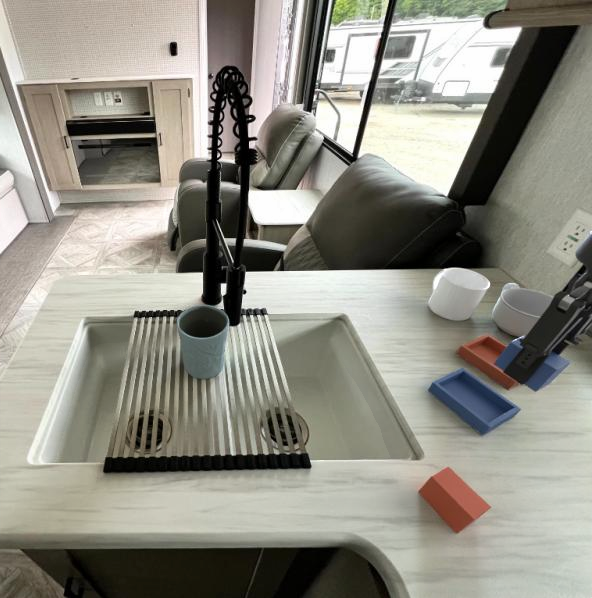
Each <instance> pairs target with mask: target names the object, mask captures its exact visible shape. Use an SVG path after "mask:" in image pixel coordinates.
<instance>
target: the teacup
mask: <svg viewBox="0 0 592 598" xmlns="http://www.w3.org/2000/svg"><path fill="white" fill-rule="evenodd" d="M553 298H554V296H553V295H550V294H548V293H546V292H543V291H539V290H537V289H531V288H525V287H520V286H519V284H517V283H515V282H508V283H506V284H505V285H504V286H503V287H502V290H501V293H500V296H499V298H498V300H497V302H496V303H495V305H494V307H493V309H492V313H491V317H492V320H493V322H494V323H495V324H496V326H498V328H499V329H500V330H501V331H503V332H504V333H506V334H508V335H511V336H513V337H515V338H516V337H517V338H520V337H522V336H526V335H527V334H528V333H529V331H530V330H531V329H532V328H533V326H534V325H535V324H536V322H537V321H538V320H539V318H540V317H541V316H542V314H543V313H544V312H545V311H546V309H547V308H548V307H549V305H550V303H551V301H552V299H553Z"/></svg>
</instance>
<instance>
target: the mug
mask: <svg viewBox="0 0 592 598" xmlns="http://www.w3.org/2000/svg"><path fill="white" fill-rule="evenodd" d="M490 286H491V282H490V280H489V279H488V278H487V277H486V276H484V275H483V274H481V273H479V272H476V271H474V270H472V269H471V270H470V269H468V268H462V267H448V268H443V269H441V270H439V272H438V273H436V275H435V276H434V278H433V281H432V294H431V296H430V297H429V300H428V302H427V305H428V308H429V309H430V310H431V311H432V312H433V313H434V314H435V315H437V316H439V317H441V318H443V319H446V320H450V321H456V322H462V321H463V322H464V321H467V320H469V319H470V318H472V315H473V313H474V312H475V310H476V309H477V307H478V306H479V304H480V302H481V301H482V300H483V297H484V296H485V294H486V293H487V291H488V290H489V288H490Z"/></svg>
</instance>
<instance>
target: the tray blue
mask: <svg viewBox="0 0 592 598" xmlns="http://www.w3.org/2000/svg"><path fill="white" fill-rule="evenodd" d="M427 391H428V393H430V394H431V395H432V396H434V398H436V399H438V401H440V402H441V403H442V404H443V405H444V406H446V407H447V408H448V409H449V410H451V411H452V412H453V413H454V414H456V415H457V416H458V417H459V418H460V419H462V420H463V421H464V422H465V423H467V424H468V425H469V426H470V427H472V428H473V429H474V430H475V431H476V432H478V433H479V434H480V435H481V436H485V435H487V434H488V433H490V432H491V431H493V430H495V429H497V428H499V427H500V426H502V425H504V424H505V423H507V422H508V421H511V420H512V419H515V417H516V416H517V415H518V414H519V412H521V410H522V408H521V407H519V406H518V405H517V404H515V403H514V402H512V401H511V400H510V399H508V398H507V397H505V396H504V395H502V394H501V393H499V392H498V391H497V390H495V389H494V388H493V387H491V386H490V385H488V384H487V383H485V382H484V381H483V380H481V379H480V378H478V377H477V376H475V375H474V374H472V373H471V372H470V371H468V370H467V369H466V368H465V367H460V368H459V369H457V370H455V371H452V372H450V373H448V374H446V375H444V376H441V377H440V378H438V379H435V380H434V381H432V382H431V384H430V385H429V387H428V389H427Z"/></svg>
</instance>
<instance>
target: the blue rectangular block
mask: <svg viewBox="0 0 592 598" xmlns="http://www.w3.org/2000/svg"><path fill="white" fill-rule="evenodd" d="M523 337H526V336H522V337H517V338H516V339H514V340H512V341H510V342H509V343H508V344H507V347H506V348H505V350H504V351H503V352H502V353H501V355H500V356H499V357H498V358H497V360H496V361H495V362H494V365H496V366H497V367H499V368H500V369H502V370H503V371H504V370H505V369H506V368H507V366H508V365H509V364H510V363H511V361H512V360H513V359H514V358H515V357H516V355H517V354H518V353H519V352H520V350H521V349H522V348H523V347H522V346H520V343H521V342H520V341H519V340H520V339H521V338H523ZM551 353H552V354H551V355H550V356H549V357H548V359H547V360H546V361H545V362H544V363H543V364H542V365H541V366H540V367H539V368H538V370H537V371H536V372H535V373H534V374H533V375H532V376H531V377H530V378H529V380H528V381H527V382H526V383H525V384H523V385H524V386H526V387H527V388H529V389H530V390H532V391H533V392H534V393H536V392H538V391H540V390H542V389H543V388H545V387H547V386H549V385H551V383H552V382H553V381H554V380H556V378H557V377H559V375H560V374H561V373H562V372H564V370H566V368H568V366H569V365H570V364H571V363H572V361H570V360H569V359H567V358H565V357H563V356H562V355H561V354H560V355H558V354H556V353H554V352H553V351H551Z"/></svg>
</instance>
